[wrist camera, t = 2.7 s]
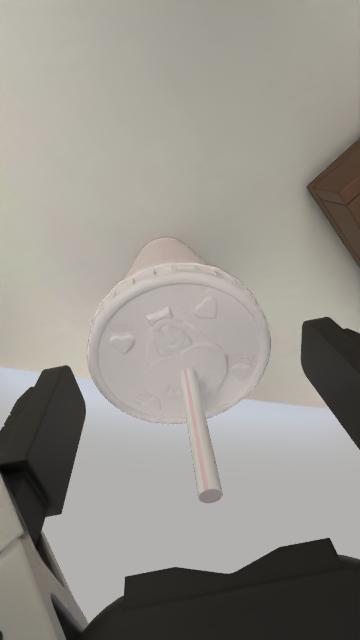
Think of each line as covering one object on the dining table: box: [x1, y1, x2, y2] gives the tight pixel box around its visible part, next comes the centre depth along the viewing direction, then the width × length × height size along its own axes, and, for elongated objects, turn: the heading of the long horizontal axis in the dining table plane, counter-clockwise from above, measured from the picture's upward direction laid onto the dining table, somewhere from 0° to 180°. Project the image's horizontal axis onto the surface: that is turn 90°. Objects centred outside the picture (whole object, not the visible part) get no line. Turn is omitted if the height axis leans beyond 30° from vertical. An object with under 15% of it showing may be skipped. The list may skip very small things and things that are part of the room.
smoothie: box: [87, 238, 271, 503], centre depth 12 cm, size 6×6×14 cm
